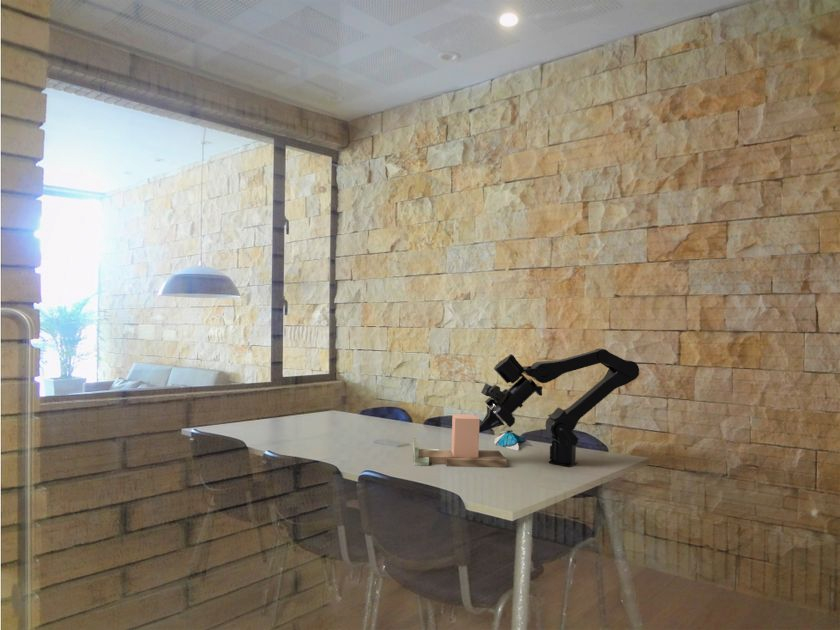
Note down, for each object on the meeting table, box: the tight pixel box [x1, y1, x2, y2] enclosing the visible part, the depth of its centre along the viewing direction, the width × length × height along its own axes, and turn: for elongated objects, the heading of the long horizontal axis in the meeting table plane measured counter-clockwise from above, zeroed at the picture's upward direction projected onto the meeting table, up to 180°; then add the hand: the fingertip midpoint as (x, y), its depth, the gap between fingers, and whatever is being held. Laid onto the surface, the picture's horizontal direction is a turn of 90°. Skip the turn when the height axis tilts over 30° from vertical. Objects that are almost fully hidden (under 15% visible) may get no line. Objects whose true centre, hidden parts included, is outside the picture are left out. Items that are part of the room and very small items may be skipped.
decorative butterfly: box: [493, 429, 532, 451], centre depth 191 cm, size 10×6×10 cm
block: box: [450, 413, 481, 457], centre depth 168 cm, size 7×7×11 cm
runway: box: [412, 438, 508, 468], centre depth 168 cm, size 26×12×5 cm, turn 93°
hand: (478, 431), depth 168 cm, fingers closed
